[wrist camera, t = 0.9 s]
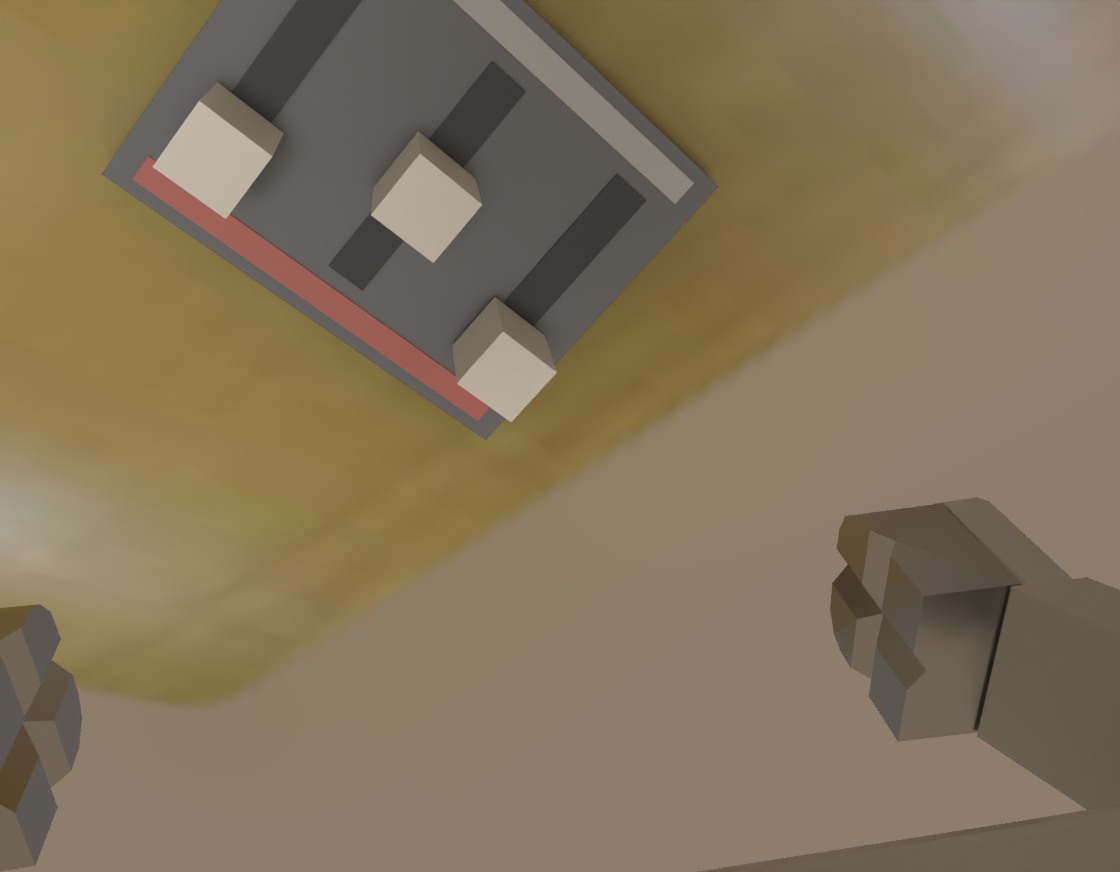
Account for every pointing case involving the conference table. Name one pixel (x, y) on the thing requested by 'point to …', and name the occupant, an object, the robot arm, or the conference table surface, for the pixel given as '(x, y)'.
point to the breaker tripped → (425, 197)
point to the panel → (454, 127)
